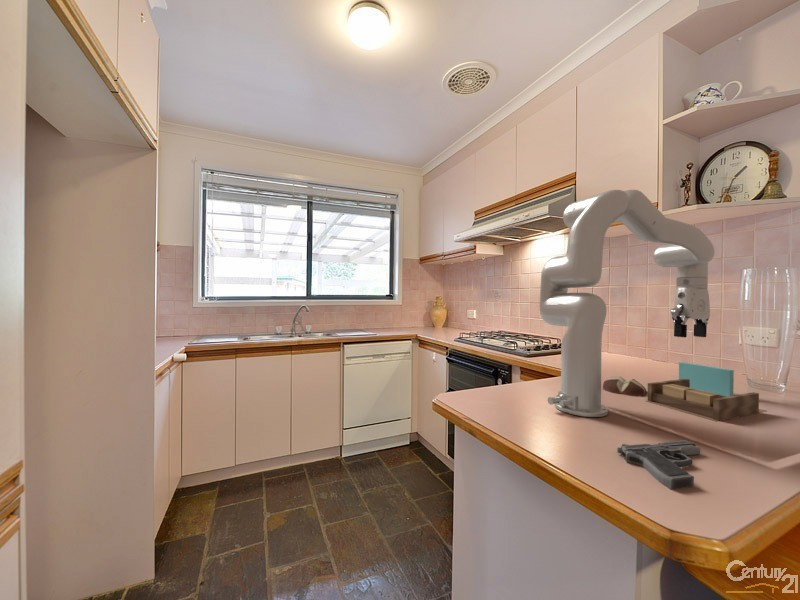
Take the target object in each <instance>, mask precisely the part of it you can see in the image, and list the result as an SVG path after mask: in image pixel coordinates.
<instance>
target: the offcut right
mask: <svg viewBox="0 0 800 600" xmlns="http://www.w3.org/2000/svg"><path fill="white" fill-rule="evenodd" d="M715 398H720V394H715V393H711V392H706V391H702V390H697V389H693V390H686V400H687V401H690V402H694V403H698V404H702V405H706V406H710V407H713V399H715Z"/></svg>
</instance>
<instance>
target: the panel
mask: <svg viewBox="0 0 800 600" xmlns="http://www.w3.org/2000/svg"><path fill="white" fill-rule="evenodd" d="M734 372H735V370H734V369H728V368H723V367H717V366H716V367H715V366H709V365H702V364H697V363H689V362H683V361H681V362H678V379H690V388H693V389H697V390H702V391H706V392H711V393H715V394H720V395H723V396H733V395H734V384H735V383H734V380H735V379H734V377H735V376H734V374H735V373H734Z"/></svg>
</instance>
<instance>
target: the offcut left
mask: <svg viewBox="0 0 800 600" xmlns="http://www.w3.org/2000/svg"><path fill="white" fill-rule="evenodd" d="M686 390H693V388H688V387H684V386H679V385H675V384H667V385H663V395H667V396H671V397H675V398H679V399H683V400H686Z"/></svg>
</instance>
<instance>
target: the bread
mask: <svg viewBox="0 0 800 600" xmlns="http://www.w3.org/2000/svg"><path fill="white" fill-rule="evenodd" d="M602 390H603V391H605V392H609V393H612V394H618V395H624V396H629V397H643V396H644V395H646V394H647V389H646V388H645V386H644V385H643V384H642V383H640V382H639V381H637V380H636V379H634V378H631V379H628V380H626V379H625V378H623V377H622V376H610V377H608V378H607V379H606V380H604V382H603V384H602Z"/></svg>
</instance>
